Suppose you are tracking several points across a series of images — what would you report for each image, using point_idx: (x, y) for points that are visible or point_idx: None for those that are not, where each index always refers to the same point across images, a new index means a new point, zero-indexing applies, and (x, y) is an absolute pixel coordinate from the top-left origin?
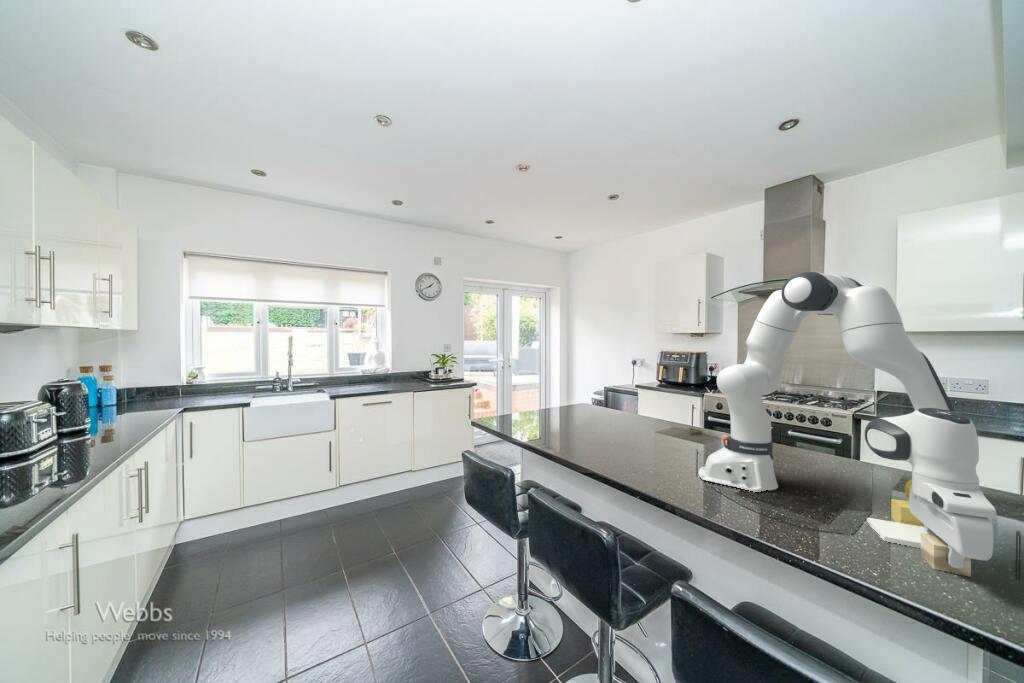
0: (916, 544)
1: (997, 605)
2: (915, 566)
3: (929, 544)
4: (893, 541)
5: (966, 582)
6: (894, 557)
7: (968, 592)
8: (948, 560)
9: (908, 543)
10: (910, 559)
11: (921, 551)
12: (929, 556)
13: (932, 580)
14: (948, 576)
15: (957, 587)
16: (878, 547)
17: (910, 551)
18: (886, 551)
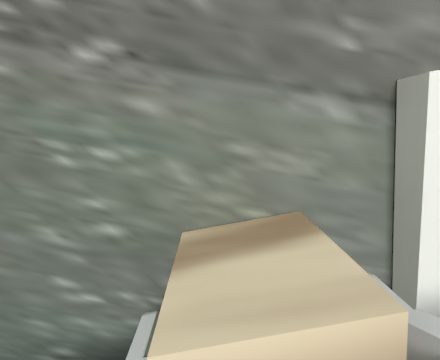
0: (409, 218)
1: (17, 345)
2: (162, 169)
3: (229, 309)
4: (408, 122)
5: (142, 306)
6: (207, 95)
7: (50, 295)
8: (153, 327)
9: (408, 187)
10: (234, 163)
11: (308, 224)
12: (222, 248)
13: (55, 205)
14: (152, 265)
15: (65, 273)
16: (297, 34)
17: (335, 180)
18: (265, 68)
